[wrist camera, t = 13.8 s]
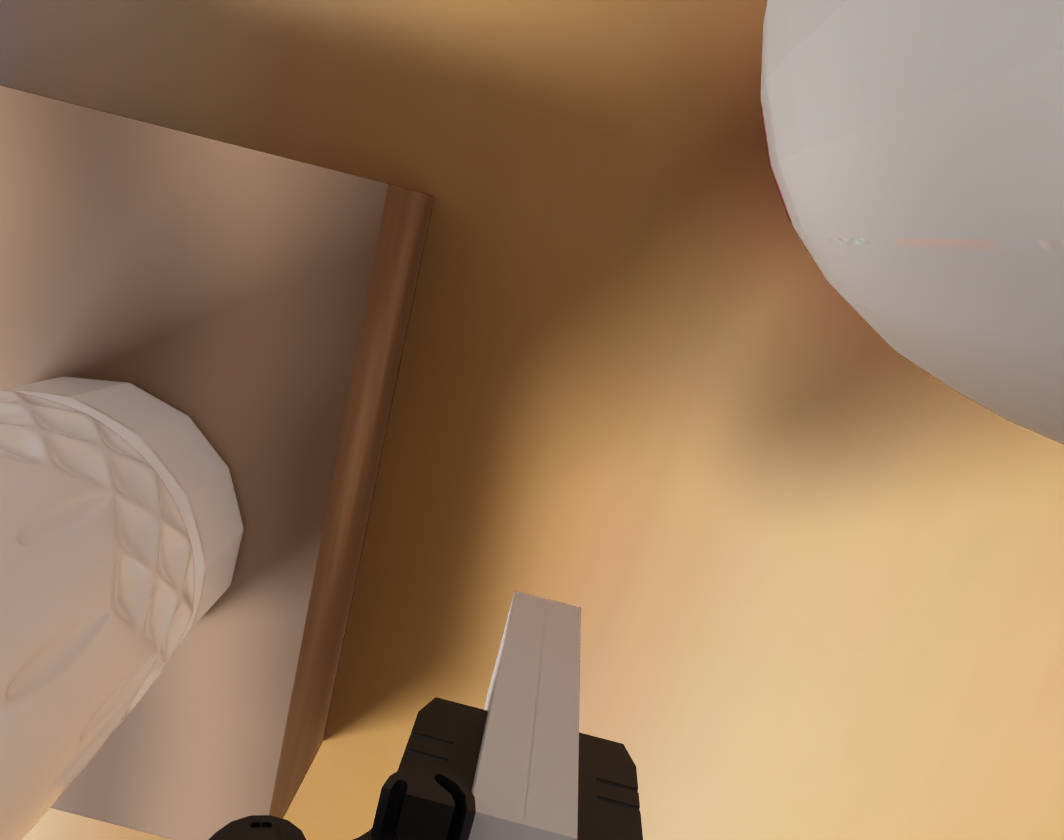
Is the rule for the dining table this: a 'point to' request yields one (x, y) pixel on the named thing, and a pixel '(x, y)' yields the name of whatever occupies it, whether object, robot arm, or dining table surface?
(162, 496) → the white cup
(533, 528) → the dining table surface
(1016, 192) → the citrus juicer
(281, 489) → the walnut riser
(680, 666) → the dining table surface
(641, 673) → the dining table surface
